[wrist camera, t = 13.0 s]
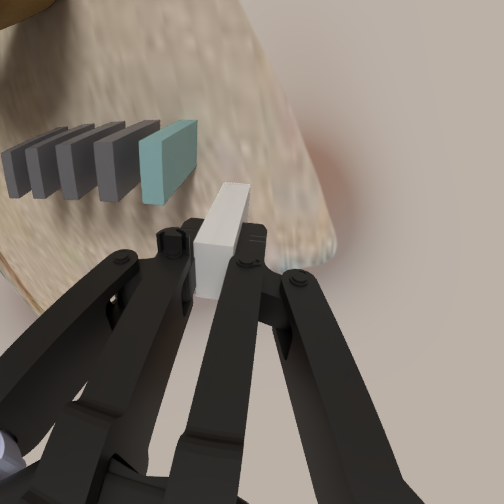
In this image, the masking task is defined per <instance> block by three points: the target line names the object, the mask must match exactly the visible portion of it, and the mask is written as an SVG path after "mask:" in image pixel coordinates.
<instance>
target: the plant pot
mask: <svg viewBox="0 0 504 504" xmlns="http://www.w3.org/2000/svg"><path fill="white" fill-rule="evenodd" d="M55 1H56V0H0V30H2V29H4V28H7V27H9V26H11V25H14V24H16V23H18V22H20V21H23V20H25V19H27V18H29V17H31V16H33V15H35V14H38V13H40V12H41V11H43V10H45V9H47V8H48V7H50V6H51V5H52V4H53V3H54V2H55Z"/></svg>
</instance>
